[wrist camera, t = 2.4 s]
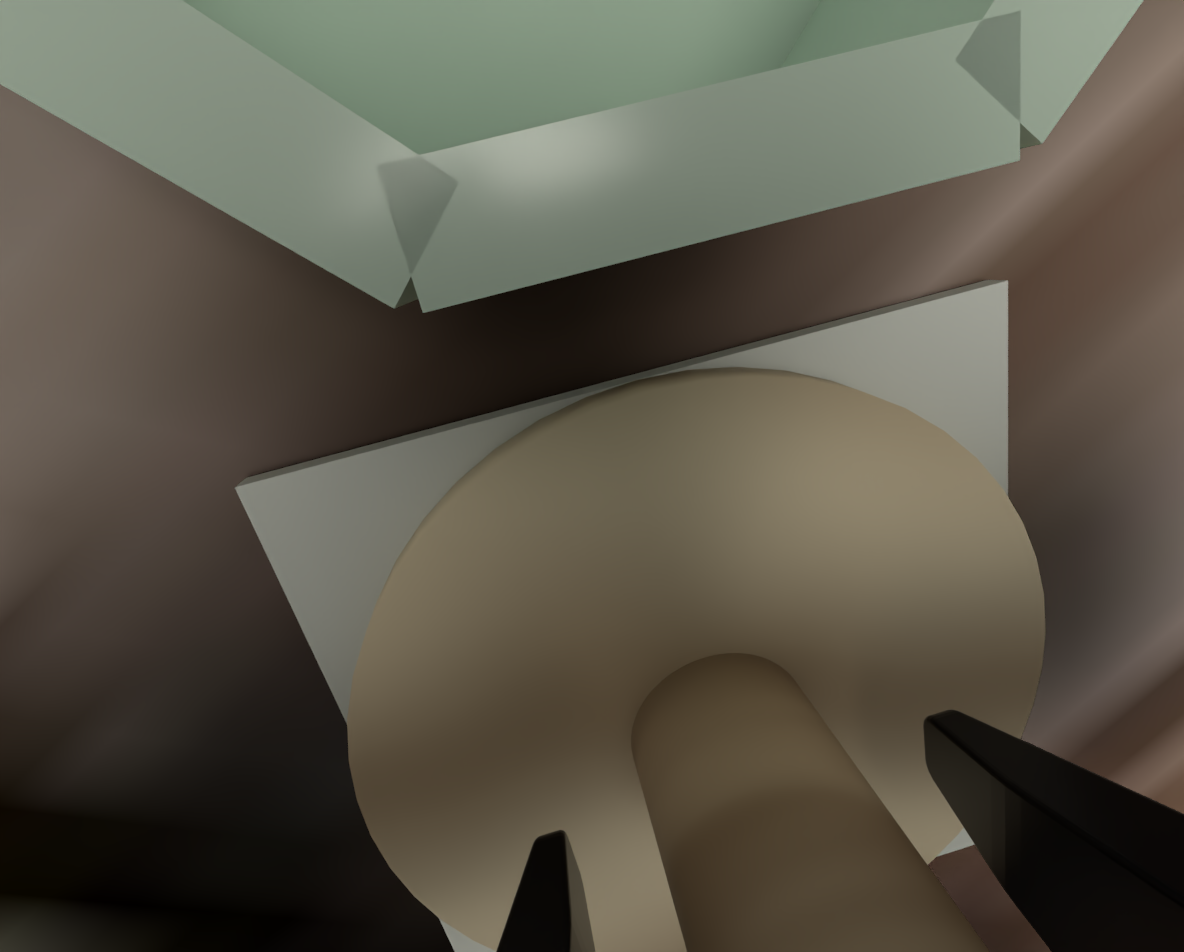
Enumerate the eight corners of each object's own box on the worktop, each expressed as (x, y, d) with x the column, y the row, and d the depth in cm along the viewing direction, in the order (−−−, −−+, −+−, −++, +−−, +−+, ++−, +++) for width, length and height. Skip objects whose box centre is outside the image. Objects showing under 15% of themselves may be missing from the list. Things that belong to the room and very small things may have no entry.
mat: (993, 817, 13) (1008, 833, 13) (480, 982, 12) (479, 1004, 12) (987, 279, 9) (1008, 280, 9) (246, 478, 9) (234, 487, 8)
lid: (1006, 833, 13) (1394, 1264, 7) (479, 1003, 12) (464, 1616, 7) (1007, 280, 9) (1838, 305, 3) (235, 486, 8) (-289, 930, 3)
